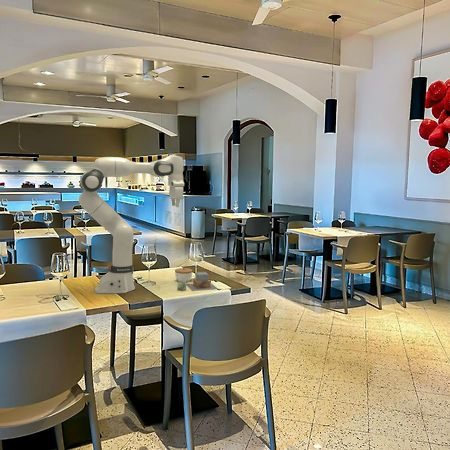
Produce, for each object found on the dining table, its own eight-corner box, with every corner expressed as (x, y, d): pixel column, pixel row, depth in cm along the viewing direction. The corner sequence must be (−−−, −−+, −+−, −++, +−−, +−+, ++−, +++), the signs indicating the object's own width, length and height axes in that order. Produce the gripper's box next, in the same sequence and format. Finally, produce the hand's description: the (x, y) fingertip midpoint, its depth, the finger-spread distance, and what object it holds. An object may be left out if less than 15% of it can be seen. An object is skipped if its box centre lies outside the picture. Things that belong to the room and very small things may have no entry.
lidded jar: (193, 280, 274) (193, 265, 272) (190, 284, 263) (190, 269, 262) (176, 279, 275) (177, 265, 274) (173, 283, 264) (173, 268, 263)
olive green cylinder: (178, 292, 245) (178, 284, 244) (176, 290, 250) (176, 281, 249) (187, 292, 247) (187, 283, 246) (184, 289, 251) (185, 281, 251)
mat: (192, 292, 246) (192, 291, 246) (185, 285, 261) (185, 284, 261) (218, 290, 251) (218, 289, 251) (210, 283, 266) (210, 282, 266)
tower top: (198, 281, 252) (198, 274, 251) (195, 279, 257) (195, 272, 257) (208, 280, 254) (208, 274, 253) (205, 278, 259) (205, 271, 259)
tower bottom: (196, 288, 251) (197, 282, 251) (193, 285, 259) (193, 278, 258) (210, 287, 254) (210, 281, 253) (206, 284, 261) (206, 278, 261)
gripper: (166, 182, 261) (166, 205, 263) (174, 183, 242) (173, 207, 244) (176, 182, 263) (176, 205, 265) (185, 183, 244) (184, 207, 246)
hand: (175, 206), depth 254 cm, fingers open, 8 cm apart
